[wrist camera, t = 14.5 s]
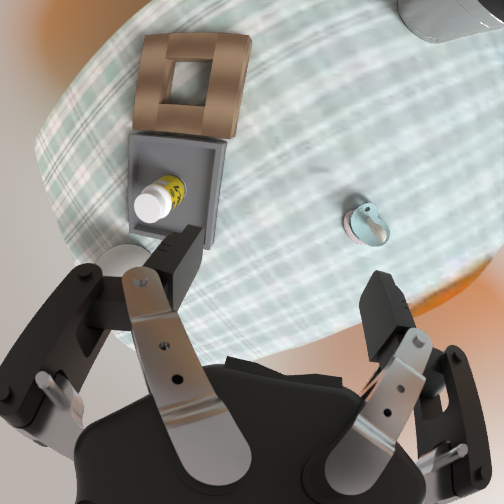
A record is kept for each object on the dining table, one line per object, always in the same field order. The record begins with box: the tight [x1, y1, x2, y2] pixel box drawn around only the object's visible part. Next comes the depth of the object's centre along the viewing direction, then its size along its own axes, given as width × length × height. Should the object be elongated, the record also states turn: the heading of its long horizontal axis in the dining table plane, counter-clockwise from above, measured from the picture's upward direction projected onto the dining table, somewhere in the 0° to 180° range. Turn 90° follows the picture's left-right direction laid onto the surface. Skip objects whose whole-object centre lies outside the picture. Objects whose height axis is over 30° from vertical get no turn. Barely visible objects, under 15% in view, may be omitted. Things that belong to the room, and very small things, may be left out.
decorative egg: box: [95, 244, 151, 277], centre depth 41 cm, size 12×12×15 cm
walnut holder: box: [132, 33, 252, 139], centre depth 29 cm, size 14×14×4 cm
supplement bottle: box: [134, 174, 187, 223], centre depth 35 cm, size 5×5×8 cm
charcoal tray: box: [128, 133, 227, 250], centre depth 38 cm, size 16×14×2 cm
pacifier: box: [344, 203, 390, 246], centre depth 36 cm, size 7×6×6 cm
